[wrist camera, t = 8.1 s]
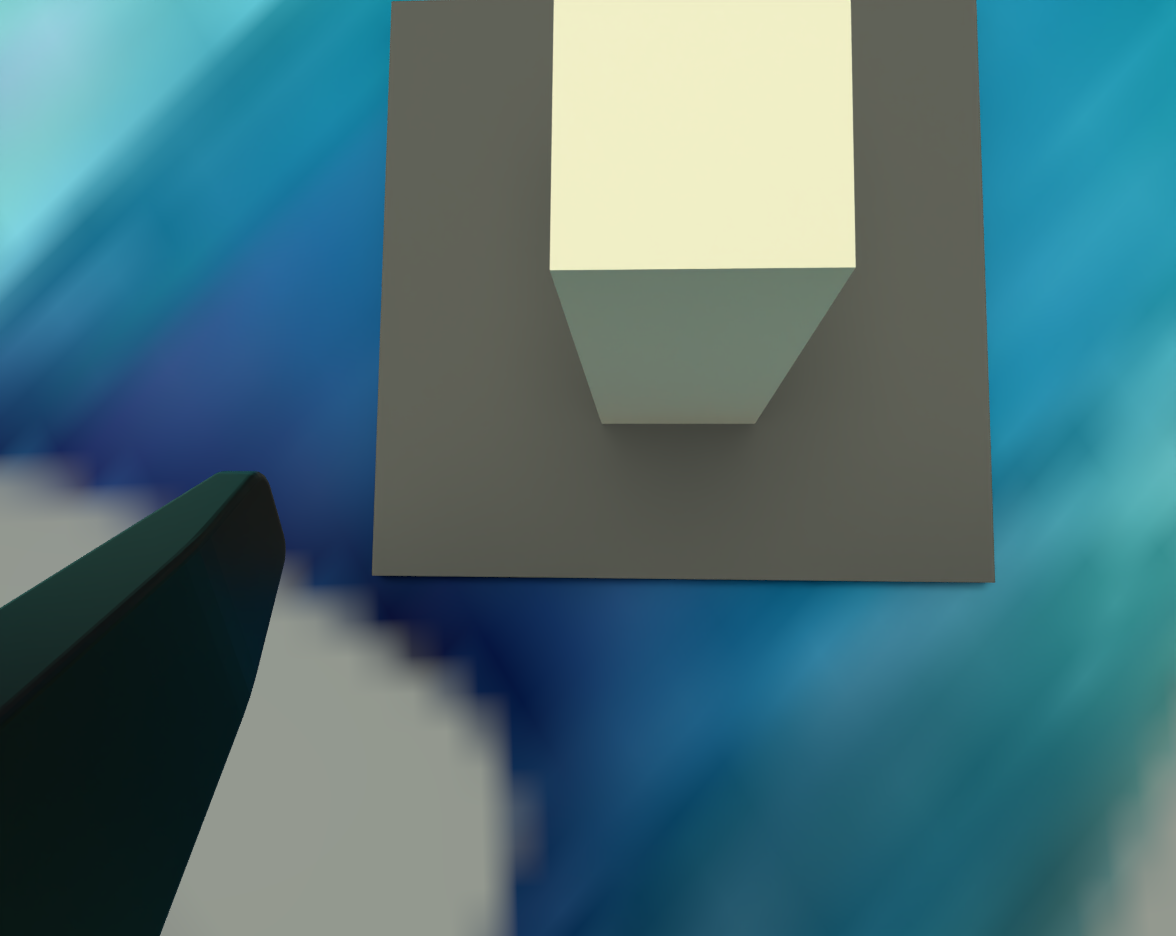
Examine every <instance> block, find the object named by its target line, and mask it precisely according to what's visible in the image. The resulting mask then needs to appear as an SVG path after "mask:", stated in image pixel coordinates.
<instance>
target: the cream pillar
mask: <svg viewBox="0 0 1176 936" xmlns="http://www.w3.org/2000/svg"><path fill="white" fill-rule="evenodd" d="M855 268H856V258H855V205H854V151H853V98H852V44H851V0H554V21H553V86H552V152H551V218H550V273H551V276H552V278H553V281H554V284H555V287H556V290H557V293H558V296H559V299H560V302H561V305H562V308H563V311H564V314H565V317H566V320H567V323H568V326H569V329H570V332H571V335H572V338H573V341H574V343H575V346H576V349H577V352H578V355H579V358H580V361H581V364H582V367H583V370H584V373H585V376H586V379H587V382H588V385H589V388H590V391H591V394H592V397H593V400H594V403H595V405H596V408H597V411H598V414H599V417H600V420H601V423H602V424H755V423H756V421H757V420H758V418H759V417H760V415H761V413H762V412H763V410H764V409H765V407H766V406H767V404H768V403H769V401H770V399H771V398H772V396H773V395H774V393H775V392H776V390H777V389H778V387H779V386H780V384H781V382H782V381H783V379H784V378H785V376H786V375H787V373H788V372H789V370H790V368H791V367H792V365H793V364H794V362H795V361H796V359H797V358H798V356H799V354H800V353H801V351H802V350H803V348H804V347H805V345H806V344H807V342H808V341H809V339H810V337H811V336H812V334H813V333H814V331H815V330H816V328H817V327H818V325H819V323H820V322H821V320H822V319H823V317H824V316H825V314H826V313H827V311H828V309H829V308H830V306H831V305H832V303H833V302H834V300H835V299H836V297H837V296H838V294H839V292H840V291H841V289H842V288H843V286H844V285H845V283H846V282H847V280H848V278H849V277H850V275H851V274H852V272H853V271H854V269H855Z"/></svg>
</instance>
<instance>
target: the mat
mask: <svg viewBox="0 0 1176 936" xmlns="http://www.w3.org/2000/svg"><path fill="white" fill-rule="evenodd" d="M553 21H554V0H428V1H392V8H391V37H390V66H389V95H388V124H387V153H386V182H385V211H384V240H383V269H382V298H381V327H380V356H379V385H378V414H377V443H376V472H375V501H374V530H373V559H372V575H376V576H463V577H550V578H638V579H726V580H813V581H901V582H990V583H995V568H994V537H993V506H992V475H991V444H990V413H989V382H988V351H987V320H986V289H985V258H984V227H983V196H982V165H981V134H980V103H979V72H978V41H977V10H976V0H851V44H852V98H853V151H854V205H855V258H856V268H855V269H854V271H853V272H852V274H851V275H850V277H849V278H848V280H847V282H846V283H845V285H844V286H843V288H842V289H841V291H840V292H839V294H838V296H837V297H836V299H835V300H834V302H833V303H832V305H831V306H830V308H829V309H828V311H827V313H826V314H825V316H824V317H823V319H822V320H821V322H820V323H819V325H818V327H817V328H816V330H815V331H814V333H813V334H812V336H811V337H810V339H809V341H808V342H807V344H806V345H805V347H804V348H803V350H802V351H801V353H800V354H799V356H798V358H797V359H796V361H795V362H794V364H793V365H792V367H791V368H790V370H789V372H788V373H787V375H786V376H785V378H784V379H783V381H782V382H781V384H780V386H779V387H778V389H777V390H776V392H775V393H774V395H773V396H772V398H771V399H770V401H769V403H768V404H767V406H766V407H765V409H764V410H763V412H762V413H761V415H760V417H759V418H758V420H757V421H756V423H755V424H602V423H601V420H600V417H599V414H598V411H597V408H596V405H595V403H594V400H593V397H592V394H591V391H590V388H589V385H588V382H587V379H586V376H585V373H584V370H583V367H582V364H581V361H580V358H579V355H578V352H577V349H576V346H575V343H574V341H573V338H572V335H571V332H570V329H569V326H568V323H567V320H566V317H565V314H564V311H563V308H562V305H561V302H560V299H559V296H558V293H557V290H556V287H555V284H554V281H553V278H552V276H551V273H550V218H551V152H552V86H553Z"/></svg>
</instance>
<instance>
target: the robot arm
mask: <svg viewBox="0 0 1176 936" xmlns="http://www.w3.org/2000/svg"><path fill="white" fill-rule="evenodd" d="M284 561H285V539H284V534H283V531H282V527H281V524H280V520H279V516H278V513H277V509H276V506H275V502H274V499H273V495H272V492H271V488H270V485H269V483H268V480H267V479H266V477H265V476H264V475H263V474H261V473H259V472H257V471H222V472H218V473H216V474H214V475H213V476H211V477H210V478H208V479H206V480H205V481H203V482H202V483H200V484H198V485H197V486H195V487H194V488H192V489H190V490H189V491H187V492H185V493H184V494H182V495H181V496H179V497H177V498H176V499H174V500H173V501H171V502H169V503H168V504H166V505H165V506H163V507H161V508H160V509H158V510H157V511H155V512H153V513H152V514H150V515H149V516H147V517H145V518H144V519H142V520H141V521H139V522H137V523H136V524H134V525H133V526H131V527H129V528H128V529H126V530H125V531H123V532H121V533H120V534H118V535H117V536H115V537H113V538H112V539H110V540H108V541H107V542H105V543H104V544H102V545H100V546H99V547H97V548H96V549H94V550H92V551H91V552H89V553H88V554H86V555H84V556H83V557H81V558H80V559H78V560H76V561H75V562H73V563H72V564H70V565H68V566H67V567H66V568H64V569H62V570H60V571H59V572H57V573H56V574H54V575H53V576H51V577H49V578H48V579H46V580H44V581H43V582H41V583H40V584H38V585H36V586H35V587H33V588H32V589H30V590H28V591H27V592H25V593H23V594H22V595H20V596H19V597H17V598H16V599H14V600H12V601H11V602H9V603H7V604H6V605H4V606H3V607H1V608H0V936H160V934H161V931H162V928H163V926H164V923H165V920H166V918H167V915H168V913H169V910H170V908H171V905H172V902H173V899H174V897H175V894H176V892H177V889H178V887H179V884H180V881H181V878H182V876H183V873H184V871H185V867H186V866H187V863H188V860H189V858H190V855H191V852H192V850H193V847H194V844H195V842H196V839H197V836H198V834H199V831H200V829H201V826H202V823H203V821H204V817H205V816H206V813H207V810H208V808H209V805H210V802H211V800H212V797H213V795H214V792H215V789H216V787H217V784H218V781H219V779H220V776H221V773H222V771H223V768H224V766H225V763H226V760H227V758H228V755H229V753H230V750H231V747H232V745H233V742H234V739H235V737H236V734H237V731H238V729H239V726H240V724H241V721H242V718H243V715H244V713H245V710H246V707H247V704H248V701H249V698H250V695H251V692H252V688H253V685H254V681H255V678H256V674H257V670H258V666H259V662H260V658H261V654H262V650H263V645H264V642H265V638H266V634H267V630H268V626H269V622H270V618H271V614H272V610H273V606H274V602H275V598H276V594H277V590H278V586H279V582H280V578H281V574H282V570H283V566H284Z"/></svg>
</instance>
